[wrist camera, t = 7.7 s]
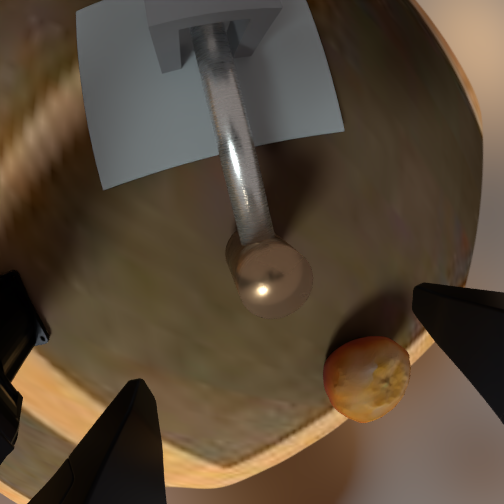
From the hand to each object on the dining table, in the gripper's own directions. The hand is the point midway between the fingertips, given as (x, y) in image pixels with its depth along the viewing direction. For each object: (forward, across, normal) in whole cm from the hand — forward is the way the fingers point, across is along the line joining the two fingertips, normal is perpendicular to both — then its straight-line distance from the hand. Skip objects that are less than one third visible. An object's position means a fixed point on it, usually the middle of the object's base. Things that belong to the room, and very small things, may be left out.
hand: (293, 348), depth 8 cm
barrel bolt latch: (+12, -1, -13) cm, 17 cm away
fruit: (+12, -8, +14) cm, 20 cm away
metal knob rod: (+10, -1, -6) cm, 12 cm away
